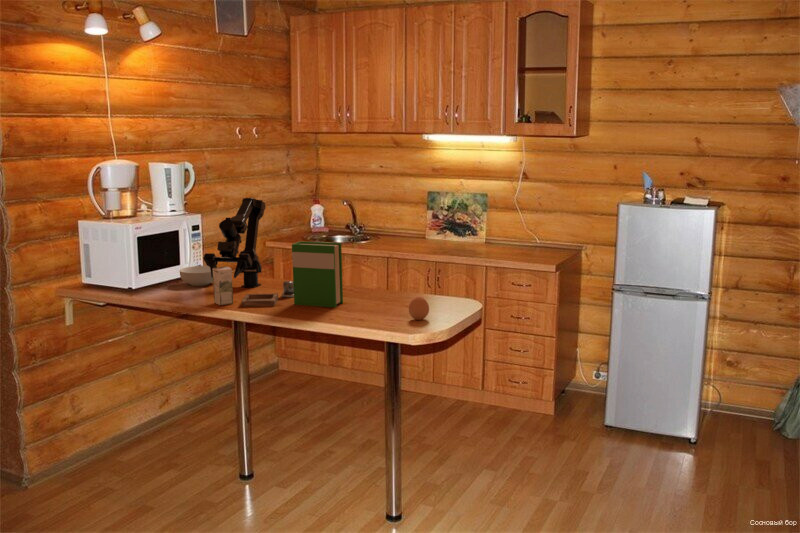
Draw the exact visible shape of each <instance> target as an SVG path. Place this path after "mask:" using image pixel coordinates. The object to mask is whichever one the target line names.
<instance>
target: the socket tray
mask: <svg viewBox="0 0 800 533" xmlns="http://www.w3.org/2000/svg"><path fill="white" fill-rule="evenodd" d="M278 300H279V293H253V294H252V293H246V294H244V296H243V297H242V300H241V302H240V303H241V304H240V305H241V308H248V307H250V308H251V307H253V308H254V307H255V308H256V307H258V308H260V307H275V306H276V304H277V302H278Z"/></svg>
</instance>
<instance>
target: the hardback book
mask: <svg viewBox="0 0 800 533" xmlns="http://www.w3.org/2000/svg"><path fill="white" fill-rule="evenodd" d="M342 252H343V251H342V242H325V241H323V242H322V241H321V242H320V241H300V240H299V241H297V242H295V243H292V244H291V258H292V259H291V261H292V281H293V287H294V297H293V303H294V305H296V306H309V307H310V306H311V307H323V308H324V307H325V308H337V306H338V305H339V304H341V305H342V304H344V295H343V294H344V292H343V290H344V288H343V287H344V285H343V258H342V257H343V256H342V255H343V254H342Z"/></svg>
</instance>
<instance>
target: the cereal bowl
mask: <svg viewBox="0 0 800 533" xmlns="http://www.w3.org/2000/svg"><path fill="white" fill-rule="evenodd" d="M179 276H180V279H181V280H182V281H183V283H186V284H189V285H191V286H193V287H204V286H208V285H210V284H211V283H213V278H212V277H211V269H210V267H209V266H207V265H193V266H185V267H183V268H182V267H181V269H180V270H179Z"/></svg>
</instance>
